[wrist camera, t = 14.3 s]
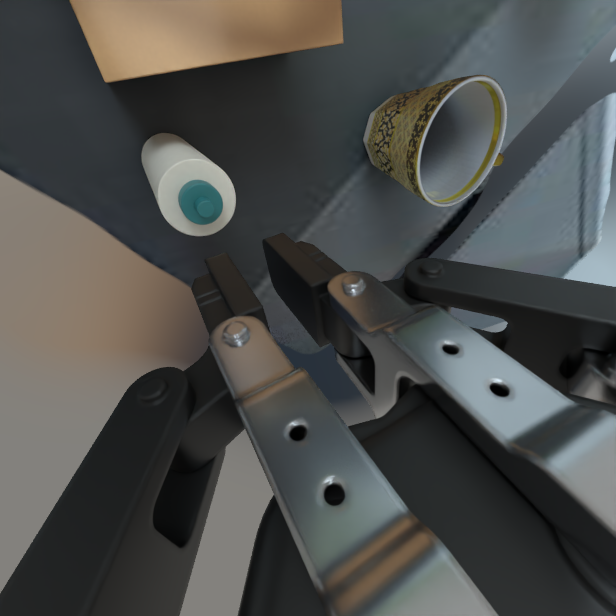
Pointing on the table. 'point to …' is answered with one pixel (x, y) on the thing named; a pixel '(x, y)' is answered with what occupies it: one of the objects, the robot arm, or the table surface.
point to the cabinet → (200, 32)
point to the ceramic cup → (440, 137)
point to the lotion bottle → (187, 185)
